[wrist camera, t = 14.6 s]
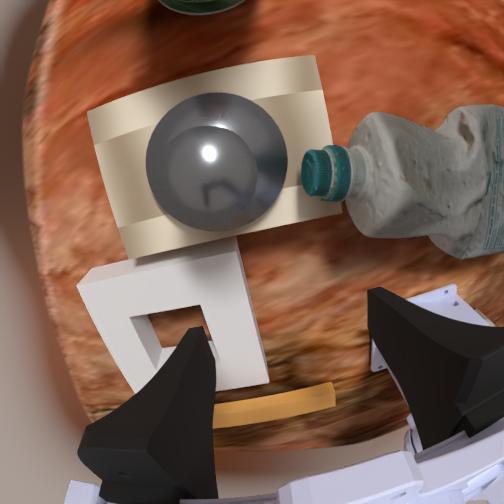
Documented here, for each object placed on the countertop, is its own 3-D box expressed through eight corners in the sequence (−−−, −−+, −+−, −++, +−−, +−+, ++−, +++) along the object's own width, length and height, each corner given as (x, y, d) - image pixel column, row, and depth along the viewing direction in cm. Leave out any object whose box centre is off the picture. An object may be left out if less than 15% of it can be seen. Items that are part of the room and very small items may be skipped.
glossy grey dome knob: (269, 90, 18) (293, 62, 10) (286, 204, 21) (317, 255, 13) (151, 113, 18) (93, 105, 10) (174, 223, 21) (137, 283, 13)
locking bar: (331, 381, 23) (335, 392, 22) (332, 396, 24) (335, 406, 23) (158, 409, 23) (156, 419, 22) (167, 421, 24) (165, 431, 23)
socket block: (235, 235, 22) (236, 251, 19) (266, 359, 26) (269, 382, 24) (91, 268, 22) (76, 285, 19) (144, 376, 27) (138, 398, 24)
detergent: (523, 124, 19) (294, 53, 16) (575, 141, 12) (339, 28, 9) (500, 241, 25) (283, 246, 22) (543, 273, 18) (312, 308, 15)
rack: (303, 65, 18) (314, 54, 15) (328, 202, 21) (342, 213, 19) (105, 113, 18) (86, 111, 15) (141, 243, 22) (129, 259, 19)
